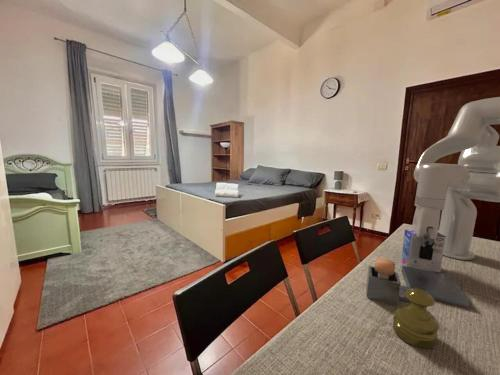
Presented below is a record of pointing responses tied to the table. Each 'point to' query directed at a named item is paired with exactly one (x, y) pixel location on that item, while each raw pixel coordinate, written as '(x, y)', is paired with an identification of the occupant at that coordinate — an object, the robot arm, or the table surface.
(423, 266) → the ink cartridge box
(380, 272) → the brown oval egg shape
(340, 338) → the table surface
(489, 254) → the table surface
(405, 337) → the olive green swirled figurine
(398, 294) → the frame
